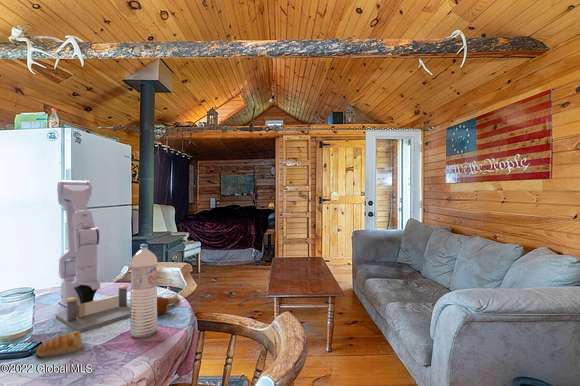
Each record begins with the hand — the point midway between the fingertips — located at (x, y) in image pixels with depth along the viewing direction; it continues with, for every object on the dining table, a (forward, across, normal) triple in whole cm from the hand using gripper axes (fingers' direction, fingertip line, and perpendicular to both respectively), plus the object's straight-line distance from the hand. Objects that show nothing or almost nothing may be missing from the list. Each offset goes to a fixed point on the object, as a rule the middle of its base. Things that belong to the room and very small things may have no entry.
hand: (86, 308), depth 102 cm
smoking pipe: (+3, +13, +19) cm, 23 cm away
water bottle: (+3, +27, +4) cm, 27 cm away
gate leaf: (+1, +3, +2) cm, 4 cm away
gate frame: (+2, +3, +3) cm, 5 cm away
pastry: (+3, +20, -13) cm, 24 cm away
